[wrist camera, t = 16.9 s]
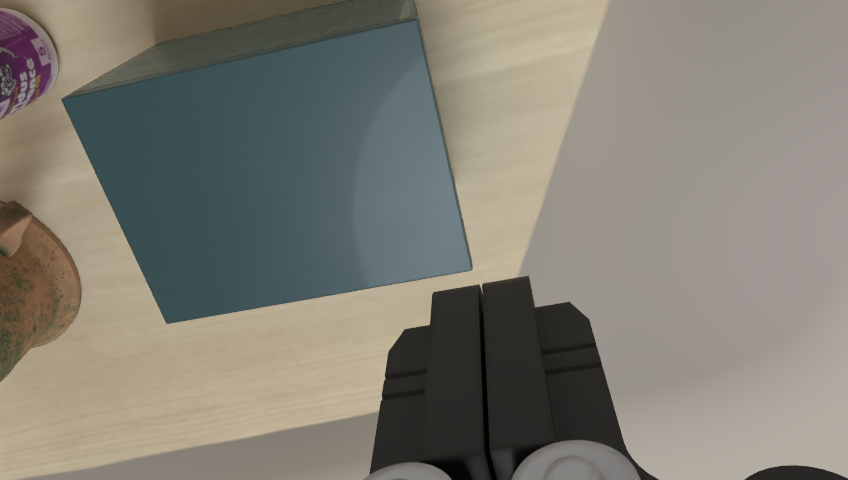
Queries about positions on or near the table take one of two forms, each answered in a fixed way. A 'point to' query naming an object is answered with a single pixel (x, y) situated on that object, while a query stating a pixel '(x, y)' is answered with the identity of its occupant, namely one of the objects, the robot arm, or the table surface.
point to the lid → (280, 172)
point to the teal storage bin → (256, 37)
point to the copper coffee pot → (32, 285)
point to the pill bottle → (24, 62)
